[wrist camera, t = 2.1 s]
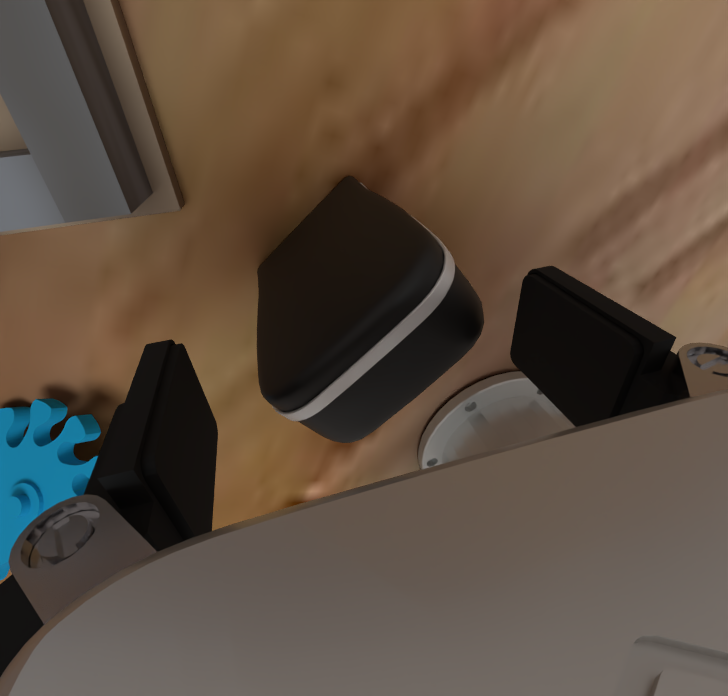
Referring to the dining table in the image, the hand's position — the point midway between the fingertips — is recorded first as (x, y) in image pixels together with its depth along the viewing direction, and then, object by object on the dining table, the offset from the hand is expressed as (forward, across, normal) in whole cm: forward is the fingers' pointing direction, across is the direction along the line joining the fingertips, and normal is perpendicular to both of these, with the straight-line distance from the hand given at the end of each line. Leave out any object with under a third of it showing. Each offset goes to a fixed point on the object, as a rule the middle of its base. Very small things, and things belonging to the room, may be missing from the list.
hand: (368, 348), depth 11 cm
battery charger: (+11, -1, +1) cm, 11 cm away
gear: (+11, +16, +10) cm, 22 cm away
